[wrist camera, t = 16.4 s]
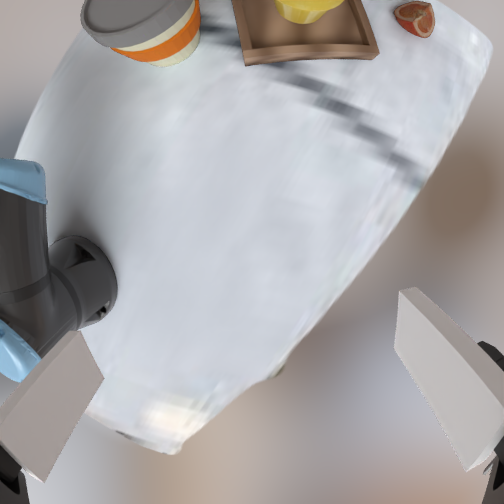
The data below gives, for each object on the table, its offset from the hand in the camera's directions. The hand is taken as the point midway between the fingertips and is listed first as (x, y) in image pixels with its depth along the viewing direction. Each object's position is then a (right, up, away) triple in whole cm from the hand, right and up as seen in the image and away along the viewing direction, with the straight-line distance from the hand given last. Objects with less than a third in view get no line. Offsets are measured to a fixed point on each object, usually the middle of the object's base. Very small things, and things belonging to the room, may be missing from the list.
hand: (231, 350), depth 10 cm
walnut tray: (+7, +39, +18) cm, 43 cm away
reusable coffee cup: (-11, +34, +20) cm, 41 cm away
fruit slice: (+26, +41, +17) cm, 51 cm away
